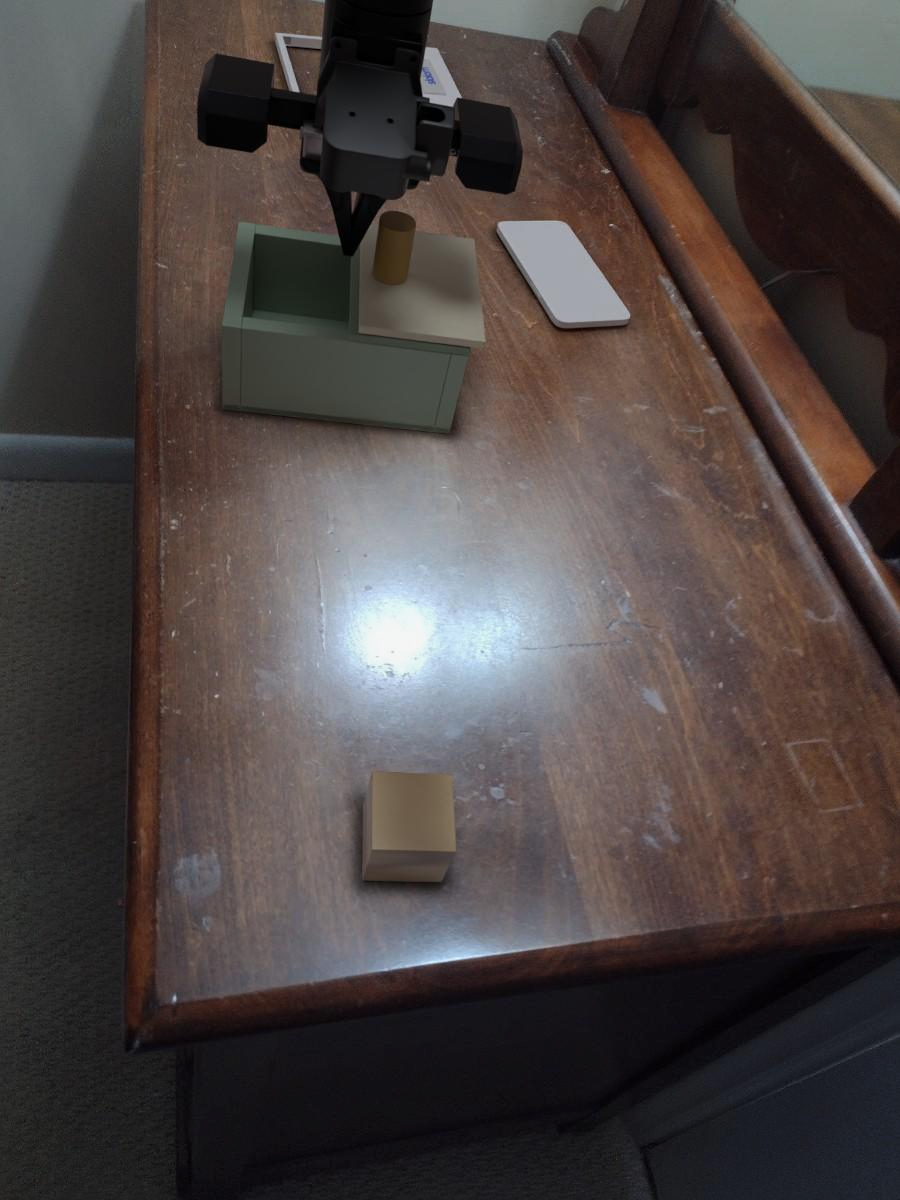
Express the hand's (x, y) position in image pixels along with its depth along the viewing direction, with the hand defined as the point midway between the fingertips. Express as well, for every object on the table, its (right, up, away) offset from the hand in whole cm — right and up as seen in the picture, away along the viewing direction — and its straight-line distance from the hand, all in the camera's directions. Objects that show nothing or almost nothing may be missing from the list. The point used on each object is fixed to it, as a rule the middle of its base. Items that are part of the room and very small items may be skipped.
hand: (348, 252), depth 61 cm
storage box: (-1, -6, +7) cm, 9 cm away
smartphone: (+16, +5, +20) cm, 27 cm away
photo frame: (-2, +31, +36) cm, 48 cm away
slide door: (+5, -2, +2) cm, 5 cm away
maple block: (+4, -36, -14) cm, 38 cm away
